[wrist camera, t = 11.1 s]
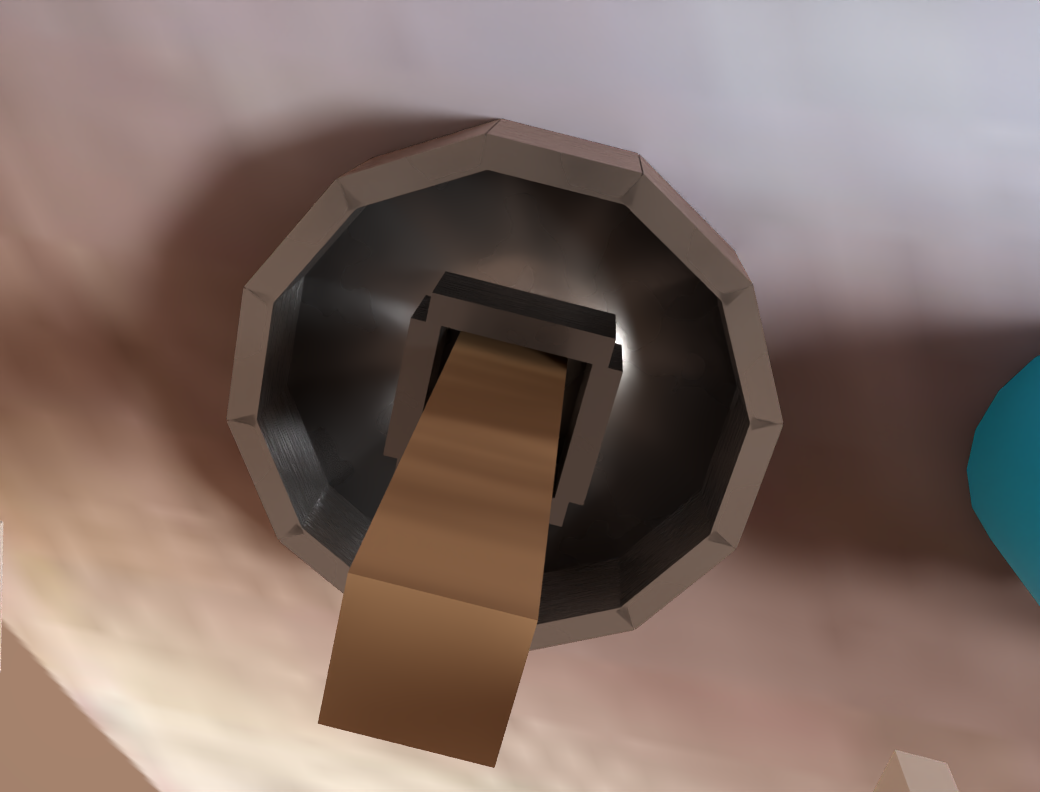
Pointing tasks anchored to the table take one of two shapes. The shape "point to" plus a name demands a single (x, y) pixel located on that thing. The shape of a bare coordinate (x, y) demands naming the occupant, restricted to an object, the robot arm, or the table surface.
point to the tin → (525, 322)
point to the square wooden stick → (454, 561)
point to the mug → (1011, 474)
